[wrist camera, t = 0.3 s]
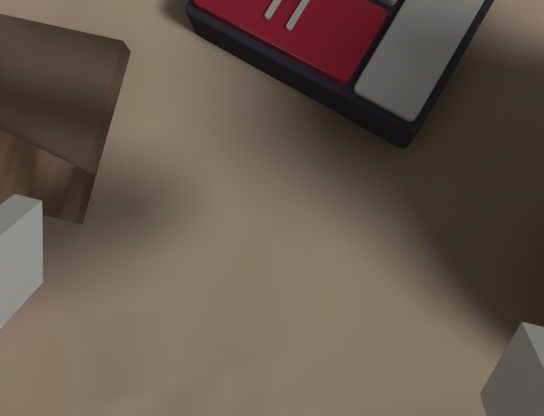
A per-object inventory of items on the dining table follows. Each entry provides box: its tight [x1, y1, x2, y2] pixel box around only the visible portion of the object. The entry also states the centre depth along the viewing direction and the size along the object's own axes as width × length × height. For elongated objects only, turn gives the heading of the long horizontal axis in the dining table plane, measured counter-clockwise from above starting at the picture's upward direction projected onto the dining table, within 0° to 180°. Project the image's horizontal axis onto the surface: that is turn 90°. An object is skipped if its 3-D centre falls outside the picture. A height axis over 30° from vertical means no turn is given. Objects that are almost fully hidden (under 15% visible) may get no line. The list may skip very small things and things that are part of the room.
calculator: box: [186, 0, 494, 148], centre depth 30 cm, size 11×4×15 cm
